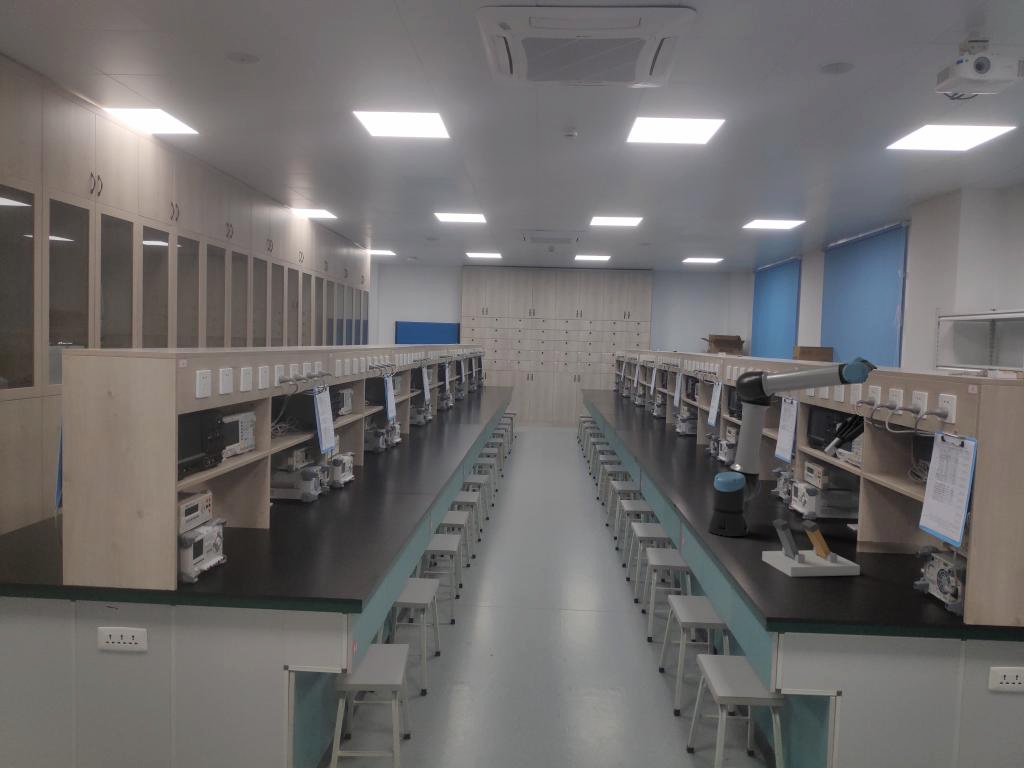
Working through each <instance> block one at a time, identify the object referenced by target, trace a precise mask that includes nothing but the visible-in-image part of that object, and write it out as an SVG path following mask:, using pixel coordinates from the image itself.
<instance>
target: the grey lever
mask: <svg viewBox="0 0 1024 768" xmlns="http://www.w3.org/2000/svg"><path fill="white" fill-rule="evenodd" d="M772 525H773V527H774V528H775V530H776V533H777V535H778V538H779V540H780V543H781V544H782V547H783V548H784V550H785V553H786V555H788V556H790V557H792V558H793V559H795V554H799V552H798V551H799V549H798V548H797V547H798V546H797V545H796V542H795V540H794V538H793V534H792V532H791V530H790V528H791V527H790V524H789V522H788V521H786V520H784V519H781V518H779V517H778V518H776V519H775V520H773V521H772Z"/></svg>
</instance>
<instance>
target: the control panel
mask: <svg viewBox="0 0 1024 768" xmlns="http://www.w3.org/2000/svg"><path fill="white" fill-rule="evenodd" d="M798 552H799V554H795V559H793V558H792V557H790V556H788V555H786V553H785V550H784V548H783V546H782V550H768V551H767V550H766V551H765V550H764V551H763V550H762V553H761V554H762V555H761V560H762V561H763V562H765V563H767V564H769V565H770V566H772V567H774V568H775V569H776V570H779V571H781V572H782V573H784V574H785V575H787V576H789V577H790V578H791V577H792V578H793V577H829V576H831V577H832V576H833V577H834V576H835V577H836V576H860V575H861V574H860V573H861V565H859V564H857V563H855V562H853V561H851V560H849V559H847V558H845V557H842V556H840V555H838V554H837V553H836V552H835V553H834V552H832V551H830V552H831V553H827V559H826V558H824V557H822V556H820V555H818V553H817V551H816V550H815V548H814V547H813V549H812V550H810V549H809V550H798Z"/></svg>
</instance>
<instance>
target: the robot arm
mask: <svg viewBox="0 0 1024 768" xmlns="http://www.w3.org/2000/svg"><path fill="white" fill-rule="evenodd" d="M877 368H878V367H877V366H876V365H874V364H873V363H872V362H869V360H867V359H864V358H862V357H861V356H856V357H855V358H854V359H853V360H852V361H849V362H845V363H841V364H840V363H838V364H831V365H823V366H816V367H815V366H814V367H807V368H802V369H801V368H800V369H792V370H785V371H779V372H778V371H777V372H771V373H769V372H768V371H762V370H761V371H759V370H758V371H757V370H756V371H746V372H744V373H742V374H741V375H739V376H738V377H737V379H736V381H735V391H736V393H737V394H738V396H739V397H741V398H740V403H741V405H742V406H743V411H742V416H741V423H740V428H739V429H740V430H739V435H738V441H737V448H736V454H735V460H734V463H733V464H731V465H730V467H729V471H726V472H725V471H724V472H719V473H717V474H716V475H715V476H714V481H713V504H712V505H713V507H712V511H713V512H712V514H711V516H710V518H709V521H708V525H707V531H708V530H709V531H710V532H712V533H714V534H713V535H715V534H718V535H717V536H720V535H723V536H722V537H725V536H744V537H746V536H745V535H747V534H748V535H749V529H748V524H747V522H746V518H745V517H746V516H745V503H746V502H748V501H752V500H753V499H755V498H756V497H757V496H758V495H759V493H760V491H761V488H762V486H761V480H760V470H759V469H758V468H757V466H758V460H759V454H760V449H761V442H762V438H763V431H764V424H765V419H766V413H767V410H768V409H769V408H771V406H772V401H773V397H774V396H776V394H777V393H785V392H792V391H793V392H794V391H801V390H809V389H820V388H827V387H828V388H829V387H835V386H843V385H844V386H846V385H855V384H856V385H857V384H863V382H865V381H866V379H867V378H868V373H869V372H870V371H872V370H873V369H877ZM864 433H865V432H864V419H863V417H861V416H859V415H857V414H855V413H854V414H852V415H851V417H848V416H845V417H844V418H843V421H842V422H841V424H840V425H839V426H838V428H837V430H836V431H835V433H834V434H833V435H832V436H833V437H834V438H835V439H834V440H833V441H832V442H830V444H829V445H827V447H826V448H825V449H824V450H823V452H825V454H827V456H828V457H832V456H834V455H835V453H836V452H837V451H839V449H840V448H841V447H842V446H843V445H845V444H848V443H849V444H850V443H852V442H854V441H855V440H856V439H857V438H859V437H860V436H861V435H862V434H864ZM709 531H708V532H709ZM710 532H709V533H710ZM712 533H711V534H712ZM748 535H747V536H748Z"/></svg>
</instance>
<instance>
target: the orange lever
mask: <svg viewBox="0 0 1024 768" xmlns="http://www.w3.org/2000/svg"><path fill="white" fill-rule="evenodd" d="M800 525H801V526H802V529H804V530H805V532H806V534H807V536H808V538H809V540H810V542H811V544H812V545H813V549H814V548H815V550H816V551H817V553H818V555H820V556H822V557H824V558H826V559H827V553H831V552H832V551H830V549H829V547H828V545H827V542H826V541H825V539H824V537H823V535H822V533H821V531H820V526H819V524H818V523H817V522H814V521H812V520H809V519H805V520H804V521H803V522H801V523H800Z"/></svg>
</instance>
